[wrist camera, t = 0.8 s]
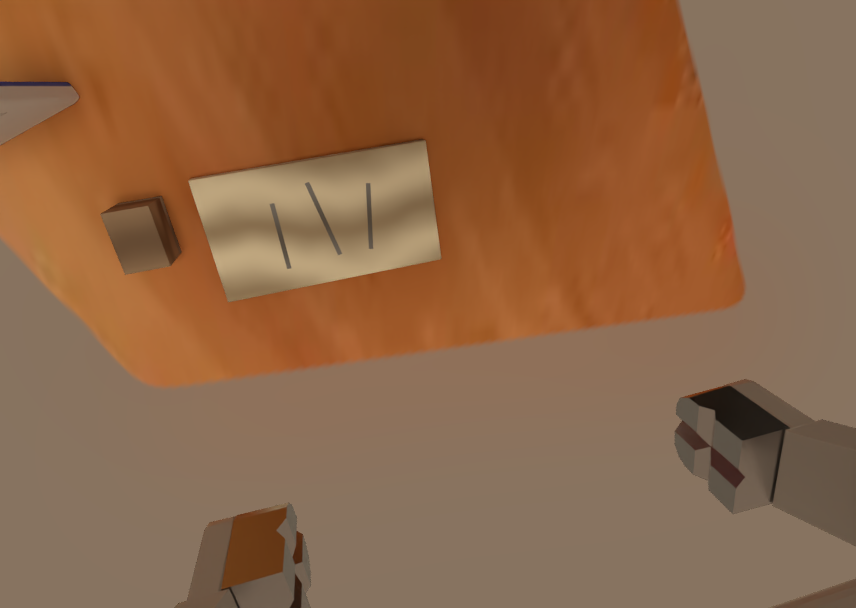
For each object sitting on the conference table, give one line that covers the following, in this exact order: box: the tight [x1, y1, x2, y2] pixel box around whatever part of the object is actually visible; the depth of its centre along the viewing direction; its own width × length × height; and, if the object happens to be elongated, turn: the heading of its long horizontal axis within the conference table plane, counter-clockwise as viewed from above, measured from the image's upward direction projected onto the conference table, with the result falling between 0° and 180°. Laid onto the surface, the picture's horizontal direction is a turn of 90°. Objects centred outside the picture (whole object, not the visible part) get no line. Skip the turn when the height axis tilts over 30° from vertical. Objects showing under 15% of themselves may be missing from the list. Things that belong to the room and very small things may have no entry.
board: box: [188, 139, 441, 302], centre depth 46 cm, size 11×20×1 cm, turn 98°
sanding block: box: [100, 196, 181, 275], centre depth 42 cm, size 5×4×4 cm
